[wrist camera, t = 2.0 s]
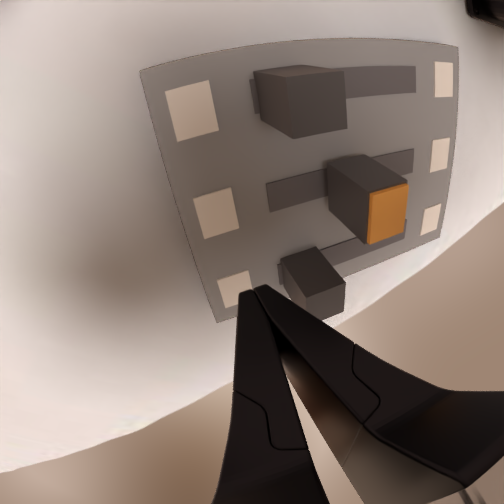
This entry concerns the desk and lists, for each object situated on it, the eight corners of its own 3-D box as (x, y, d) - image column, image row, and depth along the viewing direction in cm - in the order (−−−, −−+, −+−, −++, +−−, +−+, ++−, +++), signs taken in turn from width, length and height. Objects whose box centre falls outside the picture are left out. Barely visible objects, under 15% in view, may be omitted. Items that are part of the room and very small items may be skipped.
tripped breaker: (364, 154, 13) (410, 182, 11) (363, 199, 15) (404, 233, 12) (326, 162, 13) (370, 193, 11) (328, 209, 15) (367, 247, 12)
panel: (442, 44, 13) (501, 57, 9) (428, 228, 21) (467, 261, 17) (139, 70, 10) (137, 75, 7) (212, 308, 18) (231, 366, 15)
